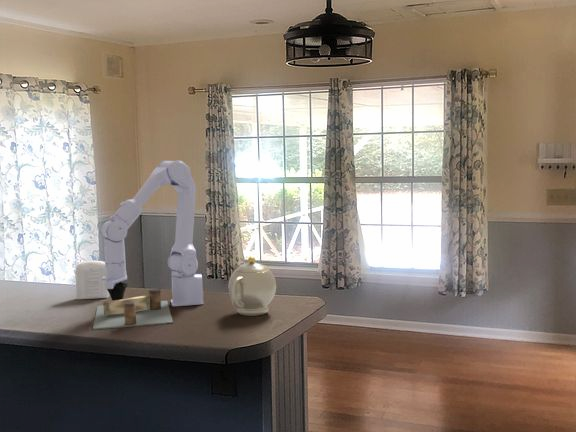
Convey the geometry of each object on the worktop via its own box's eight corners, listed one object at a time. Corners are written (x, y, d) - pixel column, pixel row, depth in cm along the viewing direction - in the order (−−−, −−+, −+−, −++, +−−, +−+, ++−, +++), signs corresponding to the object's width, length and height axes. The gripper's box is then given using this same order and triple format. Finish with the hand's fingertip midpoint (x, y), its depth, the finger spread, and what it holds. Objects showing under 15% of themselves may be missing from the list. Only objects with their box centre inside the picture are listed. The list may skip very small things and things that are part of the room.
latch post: (136, 323, 178) (135, 301, 178) (136, 326, 175) (135, 303, 175) (125, 324, 178) (123, 302, 177) (125, 327, 175) (123, 304, 174)
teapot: (247, 305, 197) (245, 251, 195) (286, 309, 190) (285, 253, 188) (212, 318, 181) (210, 260, 180) (253, 324, 174) (251, 263, 173)
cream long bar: (147, 307, 193) (146, 295, 192) (149, 308, 191) (149, 296, 191) (103, 314, 185) (103, 301, 185) (106, 315, 184) (105, 303, 183)
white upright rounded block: (109, 295, 215) (107, 258, 214) (109, 298, 211) (107, 260, 210) (77, 297, 213) (75, 260, 212) (76, 300, 209) (73, 262, 207)
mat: (167, 301, 204) (167, 300, 204) (172, 323, 178) (172, 321, 178) (97, 307, 199) (97, 305, 199) (92, 329, 173) (92, 328, 173)
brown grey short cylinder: (161, 308, 195) (160, 288, 195) (161, 310, 192) (160, 290, 191) (149, 309, 194) (148, 289, 194) (149, 311, 191) (148, 291, 190)
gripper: (109, 258, 195) (111, 302, 196) (93, 266, 181) (96, 314, 182) (132, 257, 195) (134, 302, 196) (118, 266, 180) (121, 314, 182)
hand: (118, 308), depth 189 cm, fingers closed
